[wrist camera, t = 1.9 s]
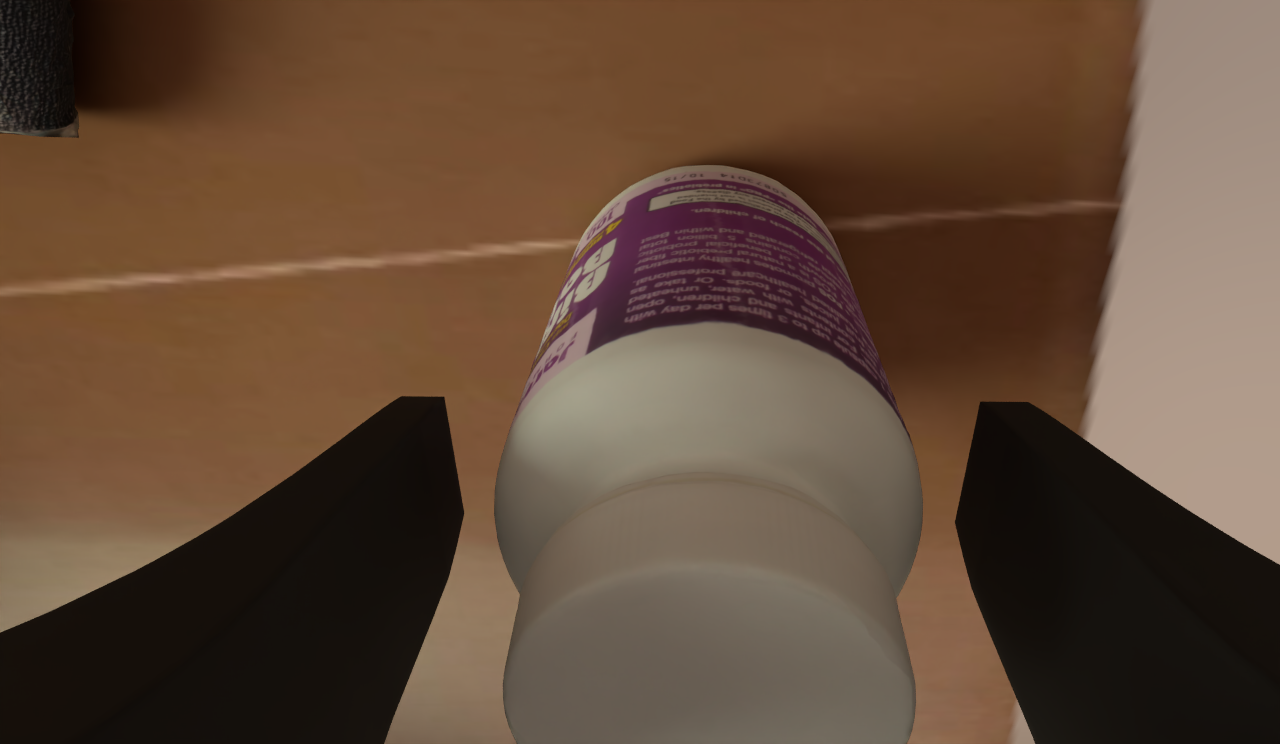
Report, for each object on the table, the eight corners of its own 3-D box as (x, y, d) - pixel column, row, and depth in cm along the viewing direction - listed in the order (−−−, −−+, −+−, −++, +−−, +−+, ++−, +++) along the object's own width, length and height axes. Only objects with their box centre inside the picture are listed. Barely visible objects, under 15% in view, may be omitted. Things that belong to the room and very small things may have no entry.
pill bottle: (561, 152, 15) (387, 479, 7) (860, 160, 15) (1069, 511, 6) (570, 405, 18) (456, 864, 9) (823, 416, 17) (937, 897, 9)
